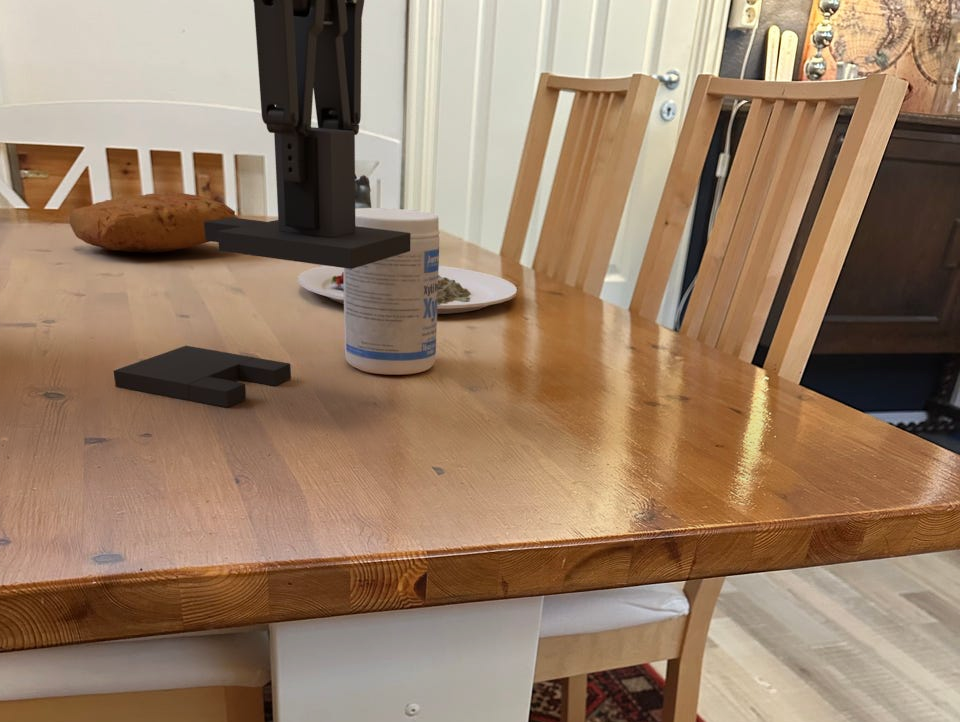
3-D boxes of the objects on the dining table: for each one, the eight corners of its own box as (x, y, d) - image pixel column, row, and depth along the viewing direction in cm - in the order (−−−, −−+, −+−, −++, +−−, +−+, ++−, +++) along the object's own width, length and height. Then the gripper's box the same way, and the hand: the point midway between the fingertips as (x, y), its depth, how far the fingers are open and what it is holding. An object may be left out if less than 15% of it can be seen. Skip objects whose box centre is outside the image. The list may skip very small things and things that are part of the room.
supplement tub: (444, 377, 95) (451, 221, 87) (352, 378, 93) (351, 218, 85) (423, 353, 103) (428, 208, 95) (338, 353, 100) (336, 204, 93)
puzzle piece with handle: (179, 245, 76) (167, 119, 71) (253, 231, 85) (247, 118, 80) (351, 269, 72) (350, 137, 67) (410, 251, 81) (413, 133, 76)
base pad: (115, 386, 85) (113, 370, 85) (187, 360, 94) (185, 345, 94) (228, 408, 82) (226, 391, 81) (291, 378, 91) (290, 363, 90)
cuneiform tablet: (199, 240, 157) (195, 188, 152) (248, 258, 146) (244, 202, 142) (65, 246, 144) (56, 189, 140) (108, 266, 133) (100, 204, 129)
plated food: (552, 318, 123) (555, 291, 121) (330, 323, 112) (330, 294, 110) (467, 274, 146) (468, 251, 144) (277, 275, 135) (276, 251, 133)
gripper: (291, -171, 57) (305, 241, 69) (407, -116, 70) (401, 219, 83) (187, -170, 59) (218, 230, 71) (319, -117, 73) (326, 210, 85)
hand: (317, 223), depth 77 cm, fingers closed on puzzle piece with handle, 4 cm apart
